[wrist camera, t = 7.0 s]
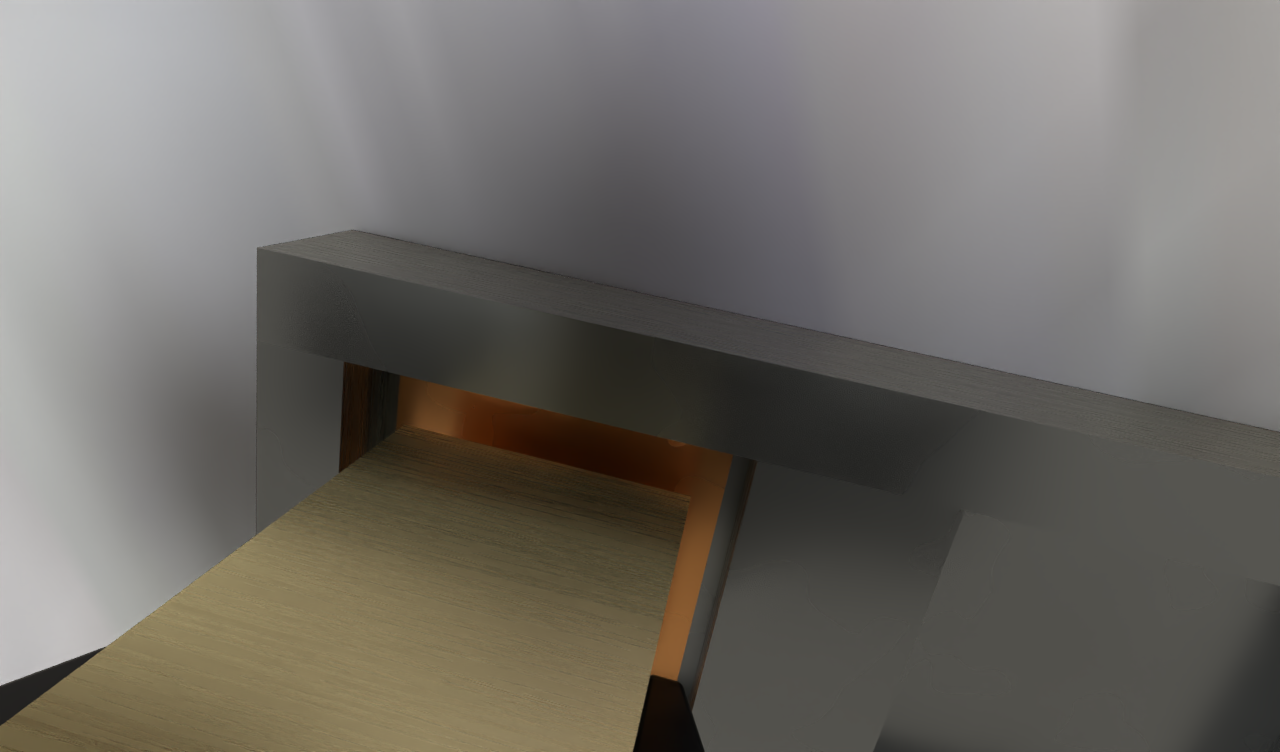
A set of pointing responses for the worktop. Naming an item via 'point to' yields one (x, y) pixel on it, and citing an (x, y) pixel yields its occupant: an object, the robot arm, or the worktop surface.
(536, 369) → the grey slotted board
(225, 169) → the worktop surface
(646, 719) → the robot arm
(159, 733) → the light wood beam
